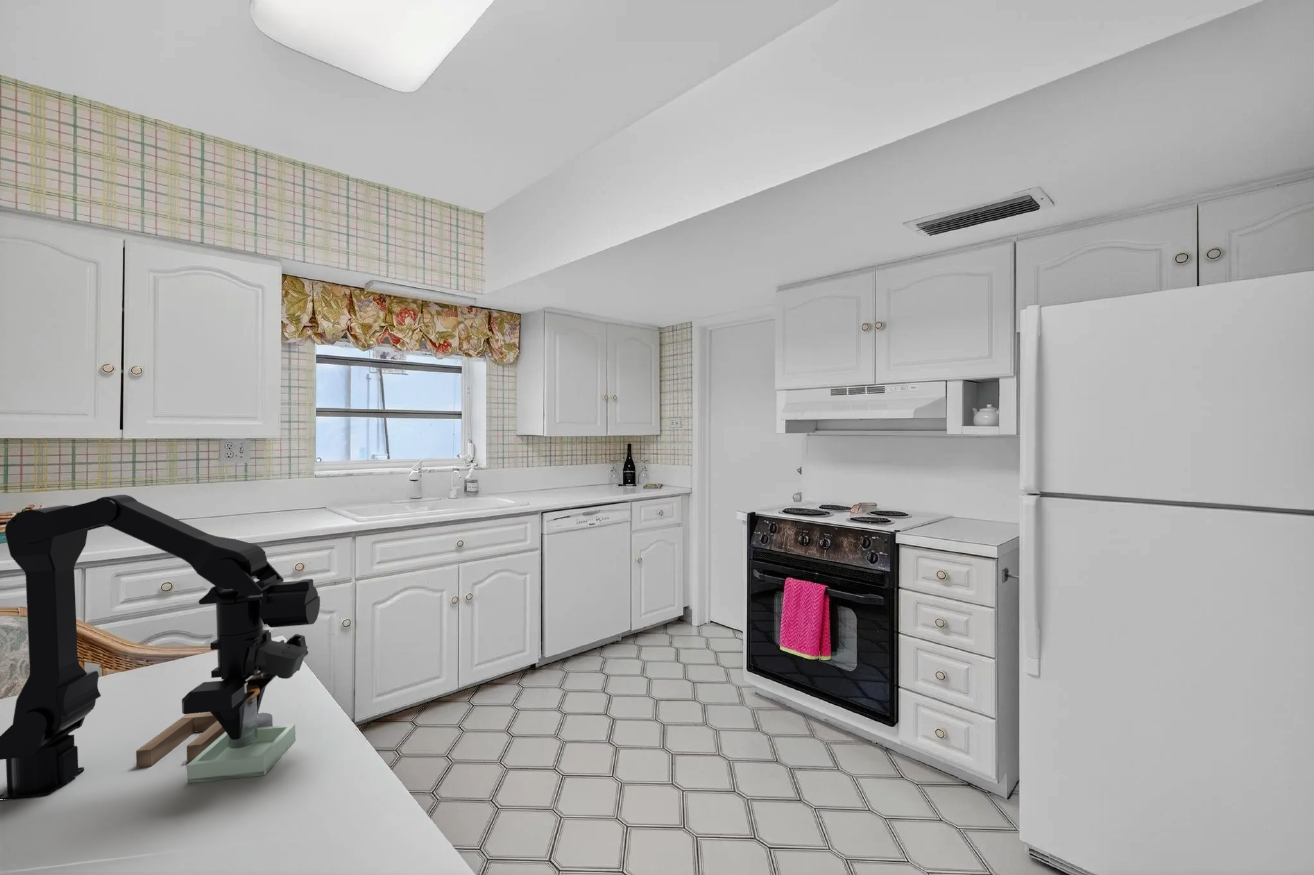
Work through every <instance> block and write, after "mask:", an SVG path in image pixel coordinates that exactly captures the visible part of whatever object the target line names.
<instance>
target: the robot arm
mask: <svg viewBox="0 0 1314 875" xmlns="http://www.w3.org/2000/svg"><path fill="white" fill-rule="evenodd" d="M105 526H108V527H110V528H113V529H115V530H116V531H119V532H121V533H123V534H126V535H127V536H130V537H132V538H134V539H137V540H139V541H141V542H144V543H146V544H147V545H150V546H152V547H155V548H157V549H159V550H161V551H163V552H166V553H168V554H170V555H172V556H175V557H176V558H179V559H181V560H183V561H185V562H186V563H188V564H189V565H190V566H191V567H192V569H193V570H194V572H195V573H196V574H197V575H198V576H200V577H201V578H203V580H206V581H207V582H209V583H210V584H211V585H212V586H211V588H210V589H209V591H208V592H206V594H205V595H203V596H202V598H200V599H199V600H198V604H199V605H211V604H213V605H214V604H215V609H216V610H215V612H216V614H215V615H216V618H215V619H216V640H214V641H212V642H210V644H209V645H210V651H215V650H216V652H217V667H215V668H214V669H212V670H211V672H210V674H211V676H210V678H211V679H214V678H220V679H221V680H215V681H204V682H202V683H200V684H199V685H197V686H196V687H195V688H193V689H192V690H189V692H188V693H187V694H186V695H185V696H184V697H183V698H181V712H182V714H183V715H186V714H196V713H208V712H211V714H212V715H213V716H214V717H215V718H216V719H217V721H218V722H219V723H220V725H221V726H222V727H223V729H224V730H225V731H226V733H227V734H228V735H229V737H230V738H231V739H232V740H238V739H240V738H241V733H242V727H243V718H244V708H245V703H246V702H247V701H248V700H249V699H250V698H251V697H252V696H253V695H254V693H255V692H250V693H247V691H246V685H258V686H259V688H260V693H259V694H258V695H257V715H258V713H259V710H260V707H261V703H262V700H263V697H264V694H265V690H266V687H267V686H268V685H269V684H270V683H271V682H272V681H273V680H274V679H275V678H276V677H277V678H279V679H284V680H285V679H286V680H287V679H291V678H292V677H293V676H294V674H296V672H298V671H300V670H301V668H302V664H303V662H304V659H305V657H306V656H308V654H309V651H308V648H309V647H308V645H307V642H306V636H304V635H303V634H299V633H296V634H295V633H294V635H291V637H290V638H289V639H287V641H285V639H284V640H283V639H281V640H280V641H276V640H273V639H272V632H270V629H264V625H267V626H268V627H269V628H285V627H296V626H306V625H307V626H310V625H314V624H315V623H316V621H317V619H318V616H319V613H320V607H321V597H320V596H319V593H318V590H317V588H316V587H315V586H314V579H312V578H305V579H301V580H294V581H292V580H291V581H285V580H284V578H283V576H281V575H280V573H279V572H278V571H277V570H276V569H275V568H274V567H273V566H272V564H271V563H269V561H268V557H267V555H266V551H265V549H263V548H262V547H261V546H259V545H257V544H254V543H251V542H248V541H243V540H239V539H236V538H230V537H223V536H217V535H214V534H209V533H208V532H205V531H202V530H201V529H199V528H196V527H194V526H192V525H190V524H187V523H186V522H183V521H181V520H180V519H176V518H174V517H172V516H171V515H168V514H166V513H163V512H162V511H159V510H157V509H155V508H153V507H150V506H149V505H147V504H144V503H142V502H140V501H138V500H137V499H136V498H134V497H133V496H131V495H127V494H116V495H108V496H107V495H106V496H102V497H99V498H97V499H95V500H91V501H89V502H85V503H80V504H75V505H66V504H61V505H55V506H47V507H43V508H42V507H40V508H34V509H33V508H32V509H27V510H22V511H20V512H18V513H17V514H15V515H14V516H12V518H10V520H7V522H6V524H5V527H4V528H5V529H4V537H5V539H6V544H7V549H8V552H9V555H10V557H11V558H12V559H13V561H14V562H15V563H16V564H17V565H18V566H19V568H20V569H21V570H22V571H23V572H24V575H25V591H26V592H25V593H26V613H27V614H26V616H27V617H26V618H27V637H28V638H27V639H28V643H27V644H28V667H29V674H28V677H27V679H26V681H25V683H24V684H23V687H22V688H21V690H20V692H19V694H18V696H17V698H16V700H15V707H14V713H13V718H12V724H11V725H10V726H9V727H8V728H7V729H6V730H5V731H4V732H3V733H1V735H0V760H5V768H6V769H5V770H6V775H5V776H6V790H5V791H3V792H2V793H0V799H3V800H2V801H5V800H4V799H12V800H20V799H21V800H22V799H28V798H29V799H30V798H39V797H47V796H50V795H51V794H54V792H56V791H57V790H58V789H60V788H62V787H64V785H66V784H68V783H69V782H71V781H72V780H73V779H75V778H76V777H78V776H79V775H81V774H82V773H84V772H85V767H84V766H81V767H79V751H78V750H79V749H78V746H77V745H75V734H70V733H72V732H73V731H75V730H78V729H80V728H81V727H82V726H83V724H84V722H85V719H86V717H87V716H88V715H89V713H91V712H92V710H94V708H95V706H96V702H97V699H99V698H100V697H101V696H102V695H101V692H100V691H99V687H98V686H99V677H100V676H99V675H100V674H99V671H98V670H94V671H90V672H89V671H88V672H87V671H86V670H85V669H84V668H83V667H82V665H80V663H79V656H78V655H79V654H78V631H77V630H78V629H77V608H76V607H77V606H76V605H77V604H76V583H75V581H76V580H75V566H76V563H77V561H78V560H79V557H80V556H81V554H82V553H83V550H84V548H85V547H86V543H87V538H88V533H89V532H88V531H92V530H96V529H100V528H102V527H105ZM255 579H257V580H256V581H255Z"/></svg>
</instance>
